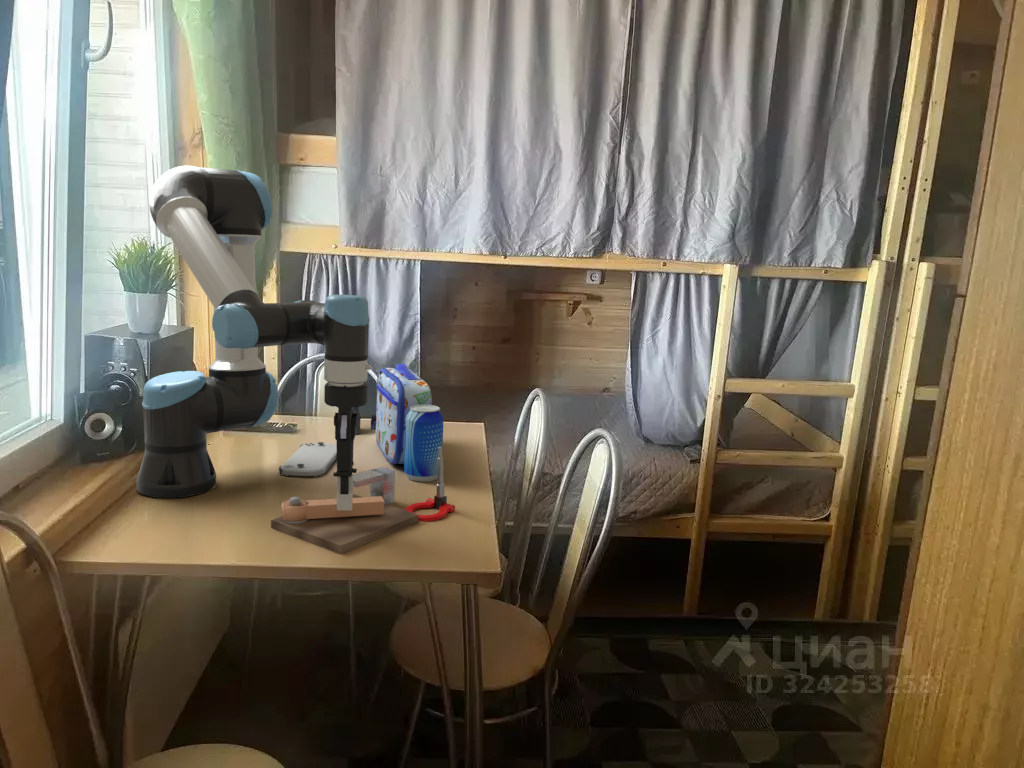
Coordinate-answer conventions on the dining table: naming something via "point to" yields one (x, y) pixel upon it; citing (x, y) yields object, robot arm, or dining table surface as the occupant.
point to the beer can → (422, 442)
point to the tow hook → (435, 497)
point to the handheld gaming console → (310, 460)
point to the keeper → (377, 483)
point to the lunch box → (396, 408)
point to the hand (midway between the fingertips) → (344, 509)
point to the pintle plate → (347, 528)
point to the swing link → (329, 508)
